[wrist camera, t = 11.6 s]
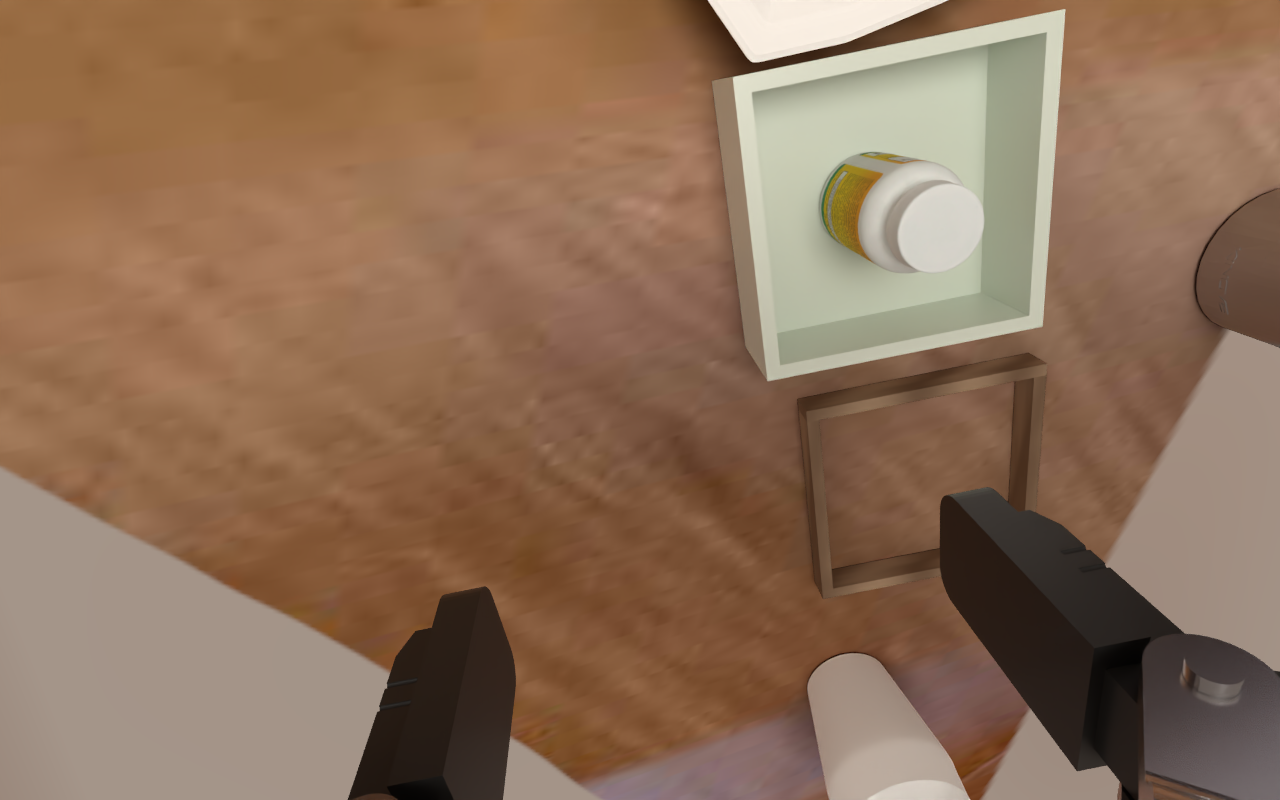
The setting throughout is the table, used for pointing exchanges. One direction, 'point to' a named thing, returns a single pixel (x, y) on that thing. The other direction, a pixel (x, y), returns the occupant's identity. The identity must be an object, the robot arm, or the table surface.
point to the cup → (875, 736)
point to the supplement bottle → (901, 212)
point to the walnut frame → (904, 390)
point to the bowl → (807, 22)
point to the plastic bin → (906, 126)
